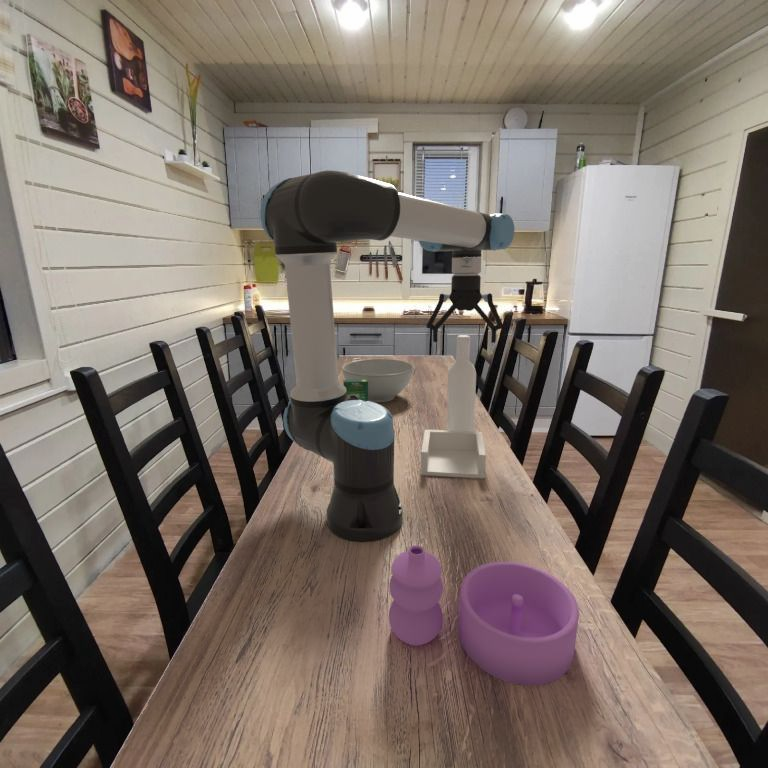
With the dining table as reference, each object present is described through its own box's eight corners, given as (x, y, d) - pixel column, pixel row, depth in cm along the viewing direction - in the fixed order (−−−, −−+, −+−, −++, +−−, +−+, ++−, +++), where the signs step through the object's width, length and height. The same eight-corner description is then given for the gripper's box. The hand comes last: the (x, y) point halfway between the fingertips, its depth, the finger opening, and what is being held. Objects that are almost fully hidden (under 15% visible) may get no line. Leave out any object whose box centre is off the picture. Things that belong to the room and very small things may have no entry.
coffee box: (368, 416, 151) (367, 378, 148) (369, 419, 149) (368, 380, 145) (343, 418, 150) (342, 379, 147) (344, 421, 147) (343, 381, 144)
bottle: (473, 445, 127) (478, 338, 119) (444, 443, 129) (448, 338, 121) (473, 435, 135) (478, 334, 127) (446, 433, 136) (450, 333, 129)
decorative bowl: (410, 387, 185) (411, 358, 182) (417, 408, 160) (417, 374, 156) (344, 388, 185) (343, 359, 182) (340, 409, 159) (339, 375, 156)
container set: (554, 599, 70) (563, 523, 67) (591, 689, 55) (604, 598, 52) (391, 592, 72) (391, 518, 68) (385, 678, 57) (384, 589, 54)
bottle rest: (484, 478, 108) (485, 455, 107) (420, 474, 110) (421, 452, 109) (480, 452, 123) (481, 431, 121) (424, 450, 125) (424, 429, 123)
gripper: (417, 275, 118) (417, 356, 124) (517, 274, 114) (512, 357, 120) (419, 274, 125) (419, 350, 131) (513, 273, 122) (508, 351, 127)
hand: (463, 354), depth 126 cm, fingers open, 13 cm apart
